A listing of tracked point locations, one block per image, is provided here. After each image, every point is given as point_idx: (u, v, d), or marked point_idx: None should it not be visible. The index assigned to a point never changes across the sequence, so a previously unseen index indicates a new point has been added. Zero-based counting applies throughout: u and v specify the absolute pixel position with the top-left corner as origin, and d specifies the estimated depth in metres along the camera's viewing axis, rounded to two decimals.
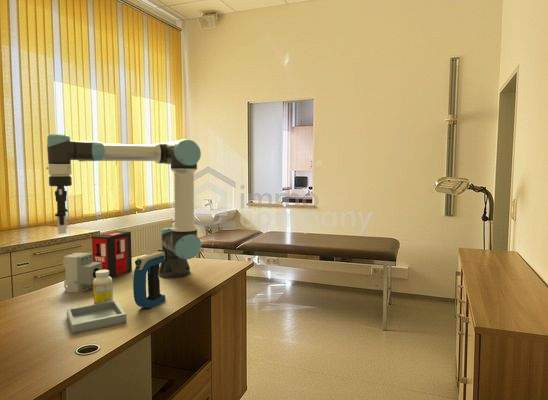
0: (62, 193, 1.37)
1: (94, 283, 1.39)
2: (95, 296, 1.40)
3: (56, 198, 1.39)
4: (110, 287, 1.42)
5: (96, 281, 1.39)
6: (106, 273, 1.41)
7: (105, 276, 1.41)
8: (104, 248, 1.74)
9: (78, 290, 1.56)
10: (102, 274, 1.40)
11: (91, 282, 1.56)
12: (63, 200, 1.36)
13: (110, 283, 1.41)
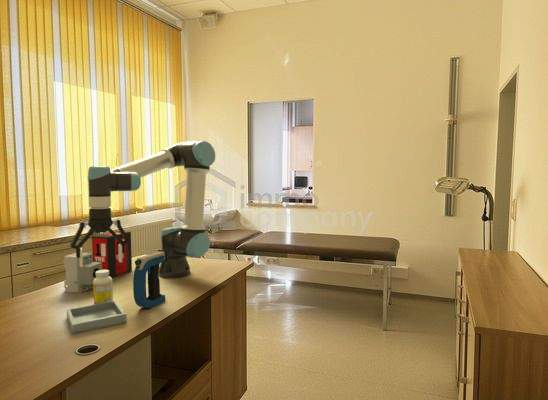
0: (80, 226, 1.36)
1: (94, 283, 1.39)
2: (95, 296, 1.40)
3: (89, 230, 1.40)
4: (110, 287, 1.42)
5: (96, 281, 1.39)
6: (106, 273, 1.41)
7: (105, 276, 1.41)
8: (104, 248, 1.74)
9: (78, 290, 1.56)
10: (102, 274, 1.40)
11: (91, 282, 1.56)
12: (77, 233, 1.35)
13: (110, 283, 1.41)
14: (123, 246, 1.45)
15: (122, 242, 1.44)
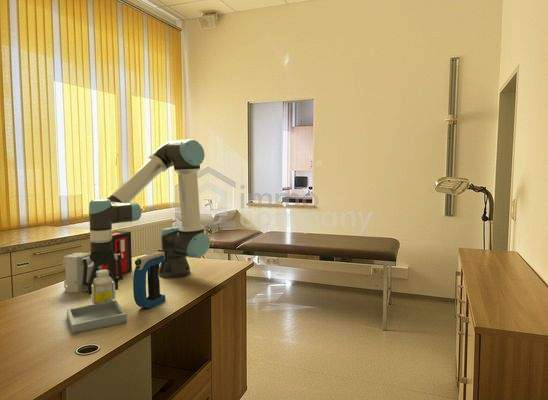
0: (83, 263, 1.37)
1: (94, 283, 1.39)
2: (95, 296, 1.40)
3: (93, 264, 1.41)
4: (110, 287, 1.42)
5: (96, 280, 1.39)
6: (106, 273, 1.41)
7: (105, 276, 1.41)
8: None
9: (78, 290, 1.56)
10: (102, 274, 1.40)
11: None
12: (83, 271, 1.37)
13: (110, 283, 1.41)
14: (116, 283, 1.44)
15: (116, 279, 1.44)
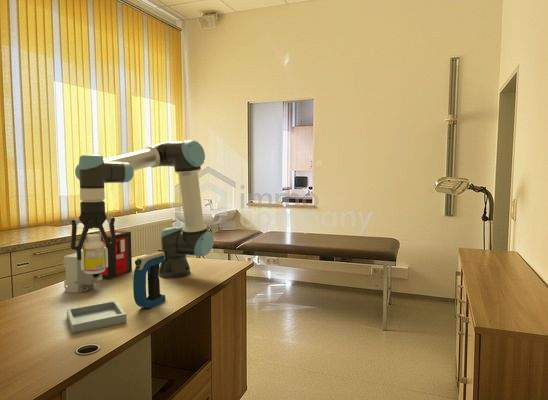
0: (72, 225, 1.23)
1: (84, 247, 1.25)
2: (85, 262, 1.26)
3: (83, 227, 1.27)
4: (102, 253, 1.27)
5: (86, 245, 1.25)
6: (97, 237, 1.27)
7: (96, 240, 1.27)
8: None
9: (78, 290, 1.56)
10: (93, 238, 1.26)
11: (91, 282, 1.56)
12: (72, 233, 1.23)
13: (102, 248, 1.27)
14: (109, 249, 1.30)
15: (108, 244, 1.30)
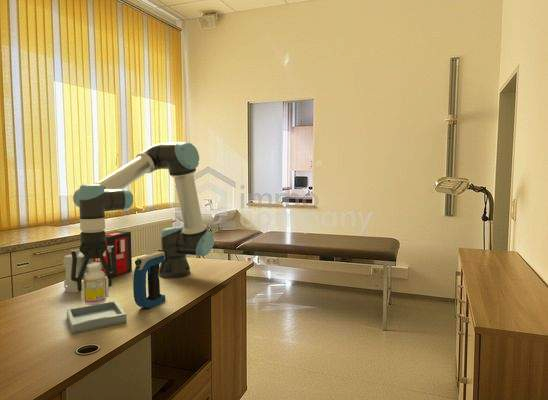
0: (72, 256, 1.22)
1: (84, 278, 1.24)
2: (85, 293, 1.24)
3: None
4: (102, 283, 1.26)
5: (87, 275, 1.23)
6: (98, 267, 1.25)
7: (97, 270, 1.25)
8: None
9: None
10: (93, 268, 1.24)
11: None
12: (72, 264, 1.22)
13: (103, 278, 1.26)
14: (110, 279, 1.29)
15: (109, 274, 1.28)
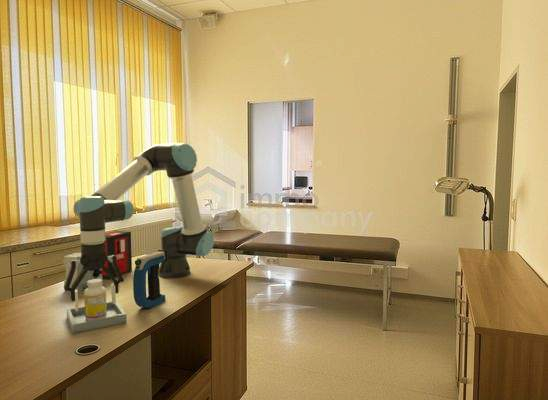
0: (71, 265, 1.22)
1: (85, 294, 1.24)
2: (86, 309, 1.25)
3: (82, 268, 1.26)
4: (103, 299, 1.26)
5: (88, 291, 1.24)
6: (99, 283, 1.26)
7: (98, 286, 1.26)
8: None
9: (78, 290, 1.56)
10: (94, 284, 1.25)
11: None
12: (69, 274, 1.21)
13: (103, 294, 1.26)
14: (117, 286, 1.30)
15: (116, 282, 1.29)
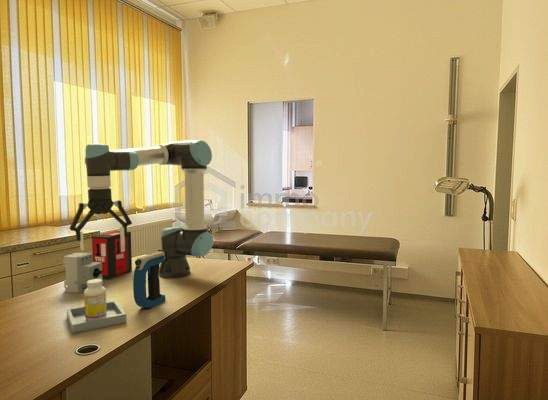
0: (79, 207, 1.29)
1: (85, 294, 1.24)
2: (86, 309, 1.25)
3: (88, 212, 1.33)
4: (103, 299, 1.26)
5: (88, 291, 1.24)
6: (99, 283, 1.26)
7: (98, 286, 1.25)
8: (104, 248, 1.74)
9: (78, 290, 1.56)
10: (94, 284, 1.25)
11: None
12: (76, 215, 1.29)
13: (103, 294, 1.26)
14: (125, 228, 1.39)
15: (124, 224, 1.38)
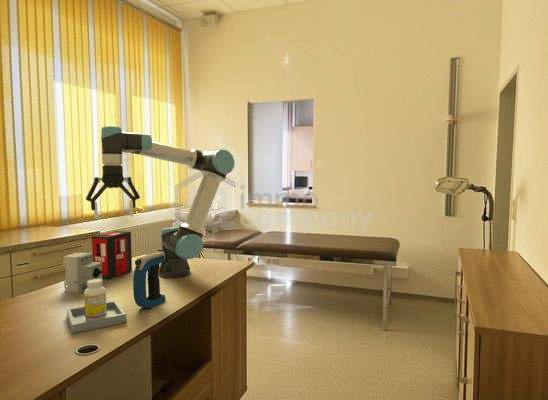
0: (94, 181, 1.48)
1: (85, 294, 1.24)
2: (86, 309, 1.25)
3: None
4: (103, 299, 1.26)
5: (88, 292, 1.24)
6: (99, 283, 1.26)
7: (98, 286, 1.25)
8: (104, 248, 1.74)
9: (78, 290, 1.56)
10: (94, 284, 1.25)
11: None
12: (92, 187, 1.47)
13: (103, 294, 1.26)
14: (134, 201, 1.57)
15: (133, 198, 1.56)
